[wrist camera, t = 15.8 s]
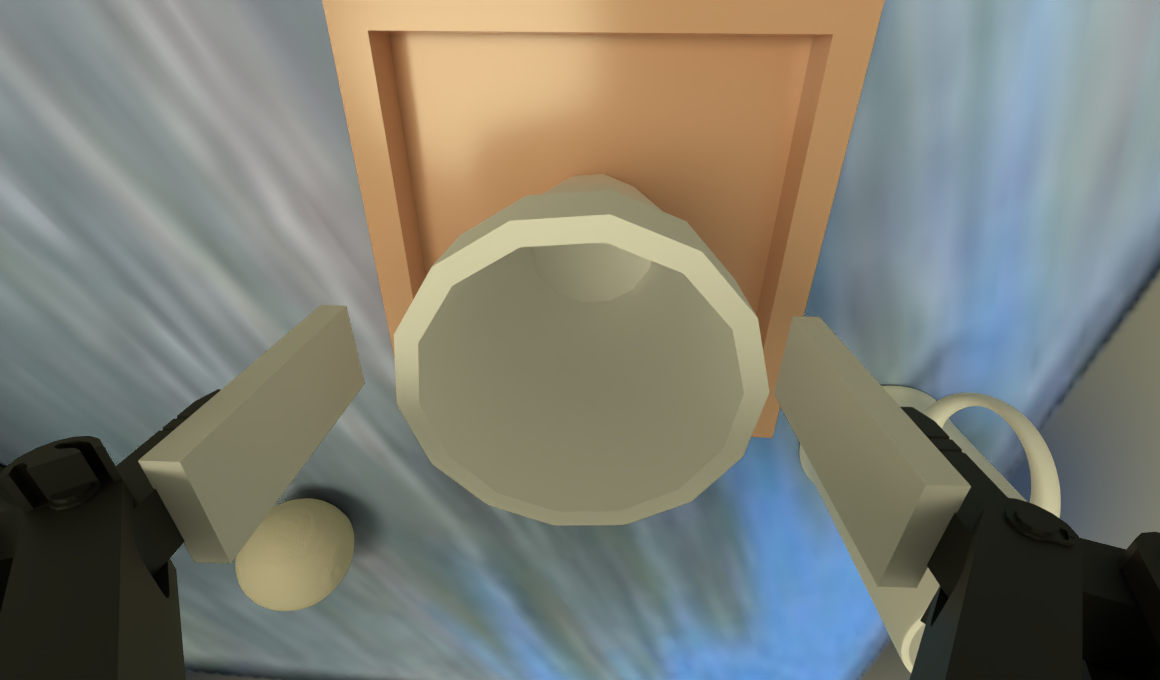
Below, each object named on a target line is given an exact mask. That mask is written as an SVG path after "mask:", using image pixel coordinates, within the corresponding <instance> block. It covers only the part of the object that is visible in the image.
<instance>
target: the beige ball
mask: <svg viewBox="0 0 1160 680" xmlns="http://www.w3.org/2000/svg"><path fill="white" fill-rule="evenodd" d="M353 551H354V532H353V528H352V525H351V522H350V520H349V519H348V517H347V516H346V515H345V514H344V513H343V512H342V511H340V510H339V509H338V508H337V507H335V506H334V505H332V504H330V503H328V502H325V501H322V500H319V499H313V498H303V499H295V500H290V501H287V502H284V503H281V504H279V505H277V506H275V507H273V508H272V509H271V510H270V512H269V513H268V514H267V516H266V517H265V518H264V520H263V521H262V522H261V524H260V525H259V526H258V528H257V529H256V530H255V532H254V533H253V534H252V536H251V537H250V538H249V540H248V541H247V543H246V544H245V545H244V547H243V548H242V549H241V551H240V552H239V553H238V555H237V556H236V561H235V568H236V574H237V579H238V582H239V585H240V587H241V589H242V590H243V592H244V593H245V594H246V595H247V596H248V597H249V598H250V599H251V600H252V601H254V602H255V603H257V604H259V605H260V606H262V607H265V608H268V609H271V610H276V611H294V610H299V609H304V608H307V607H310V606H312V605H314V604H316V603H318V602H320V601H321V600H323V599H324V598H325V597H326V596H328V595H329V594H330V593H331V592H332V591H333V590H334V589H336V587H337V586H338V585H339V584H340V582H341V581H342V579H343V578H344V576H345V574H346V573H347V571H348V569H349V567H350V564H351V561H352V557H353Z"/></svg>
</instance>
